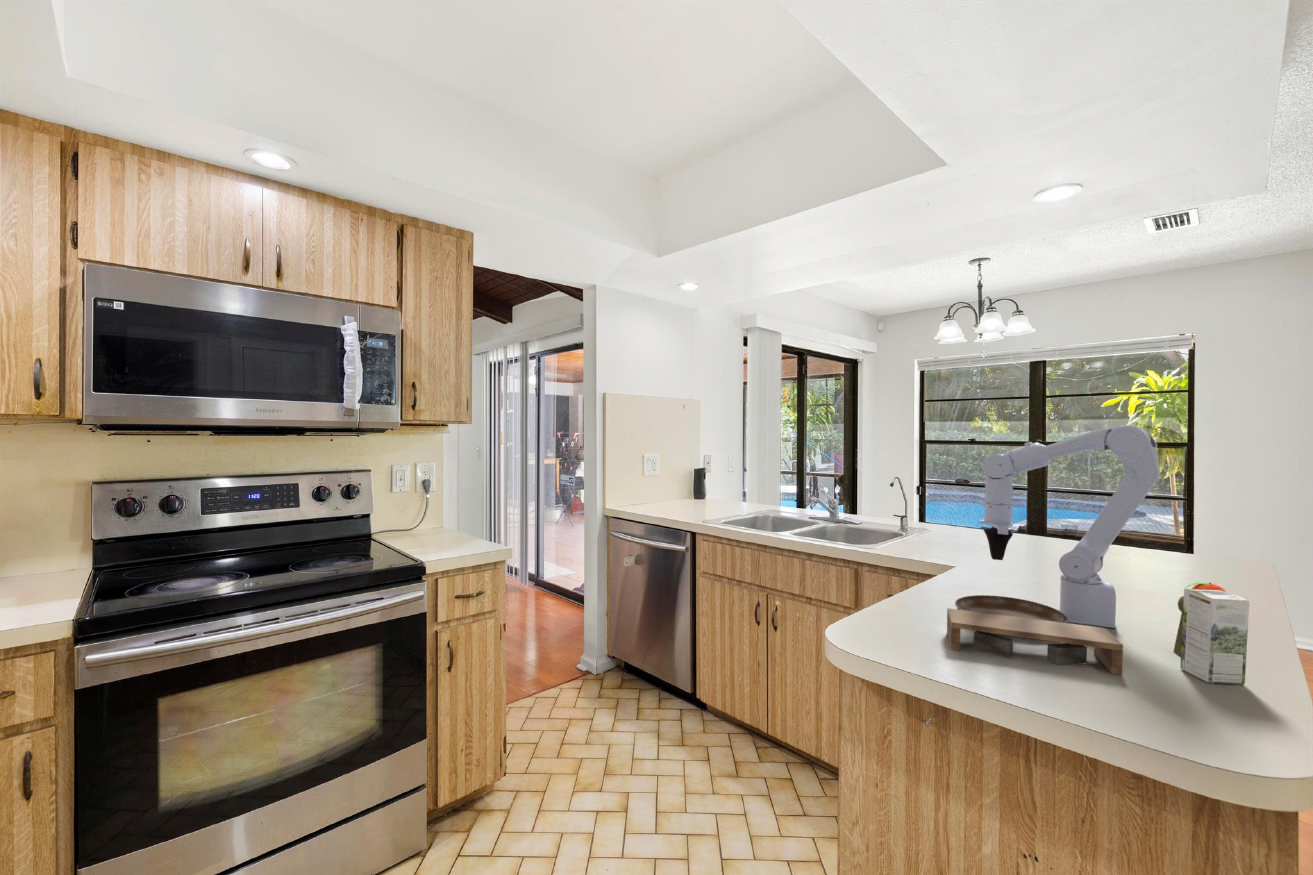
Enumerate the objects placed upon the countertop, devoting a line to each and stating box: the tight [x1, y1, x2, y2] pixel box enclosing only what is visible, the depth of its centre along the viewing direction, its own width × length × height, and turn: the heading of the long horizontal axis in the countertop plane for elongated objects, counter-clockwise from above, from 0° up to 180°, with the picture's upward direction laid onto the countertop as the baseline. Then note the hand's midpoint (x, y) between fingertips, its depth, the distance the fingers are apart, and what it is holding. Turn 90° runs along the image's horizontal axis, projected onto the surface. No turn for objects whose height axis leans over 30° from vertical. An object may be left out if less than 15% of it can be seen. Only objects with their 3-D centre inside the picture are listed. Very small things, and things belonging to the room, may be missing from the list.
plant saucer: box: [954, 594, 1068, 623], centre depth 121 cm, size 21×21×3 cm
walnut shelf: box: [946, 608, 1124, 676], centre depth 105 cm, size 26×9×5 cm, turn 67°
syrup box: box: [1179, 588, 1250, 686], centre depth 95 cm, size 6×6×14 cm
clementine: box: [1183, 582, 1227, 592], centre depth 130 cm, size 8×7×7 cm
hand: (997, 559), depth 136 cm, fingers closed
